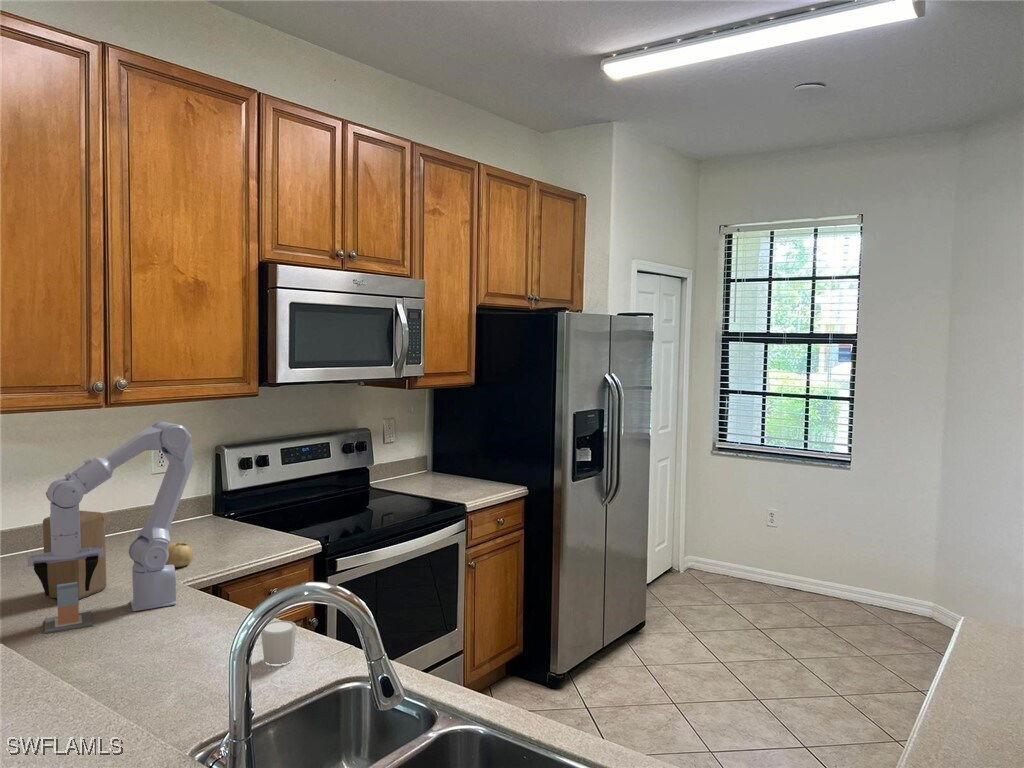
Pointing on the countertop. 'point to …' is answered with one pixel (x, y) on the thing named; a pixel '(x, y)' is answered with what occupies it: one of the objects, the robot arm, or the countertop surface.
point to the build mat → (53, 626)
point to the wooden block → (76, 569)
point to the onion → (179, 554)
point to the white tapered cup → (278, 642)
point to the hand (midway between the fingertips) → (67, 592)
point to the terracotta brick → (68, 614)
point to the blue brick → (67, 594)
